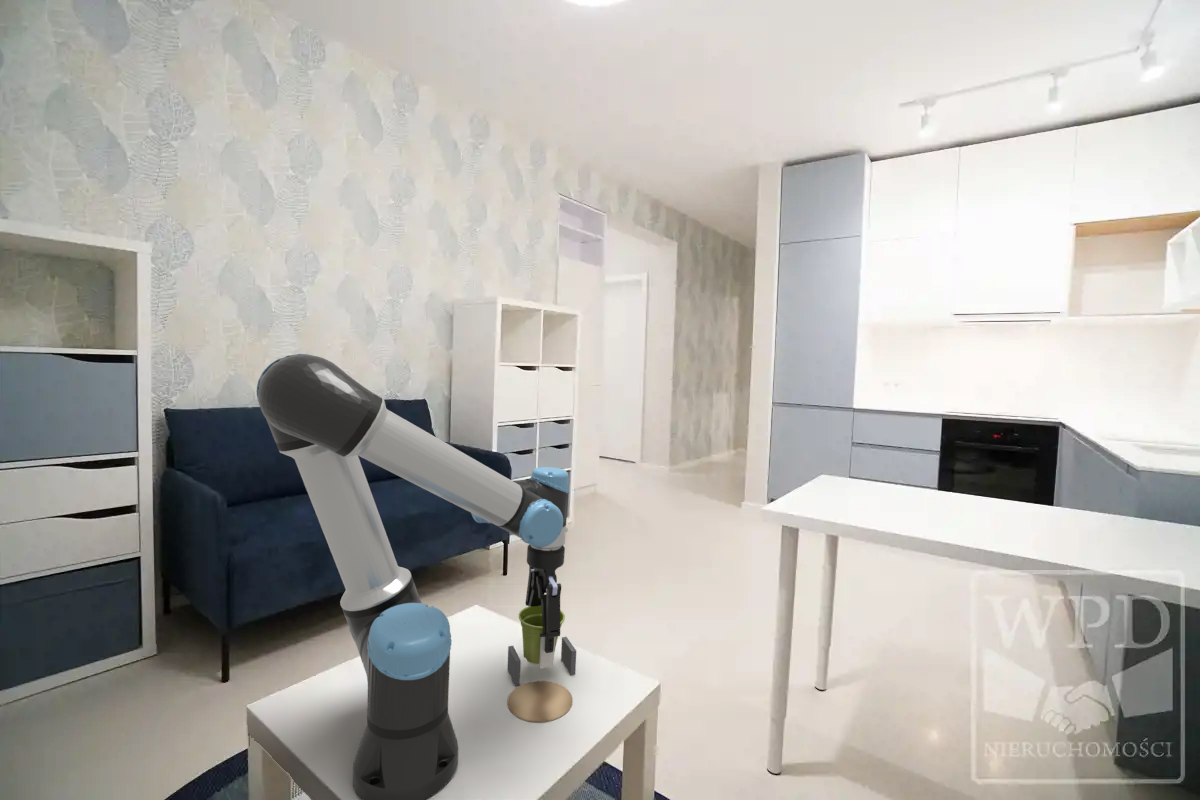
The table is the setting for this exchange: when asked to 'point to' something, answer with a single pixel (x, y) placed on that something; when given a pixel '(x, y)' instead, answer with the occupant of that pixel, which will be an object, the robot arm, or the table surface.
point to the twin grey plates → (566, 657)
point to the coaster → (539, 701)
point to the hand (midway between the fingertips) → (539, 654)
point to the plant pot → (533, 632)
